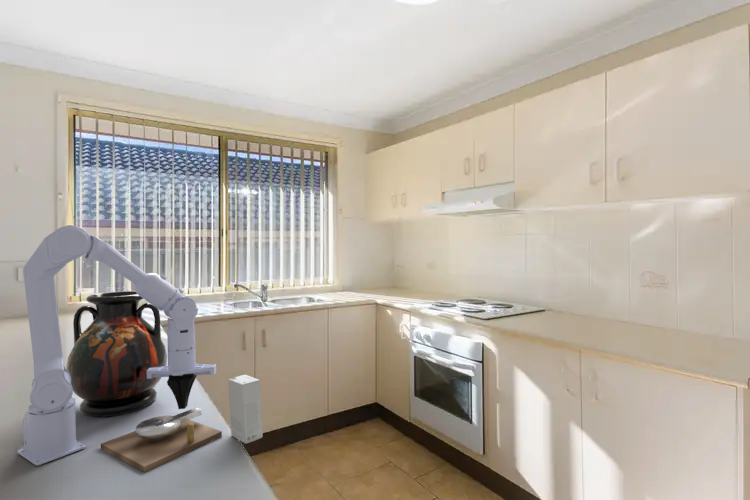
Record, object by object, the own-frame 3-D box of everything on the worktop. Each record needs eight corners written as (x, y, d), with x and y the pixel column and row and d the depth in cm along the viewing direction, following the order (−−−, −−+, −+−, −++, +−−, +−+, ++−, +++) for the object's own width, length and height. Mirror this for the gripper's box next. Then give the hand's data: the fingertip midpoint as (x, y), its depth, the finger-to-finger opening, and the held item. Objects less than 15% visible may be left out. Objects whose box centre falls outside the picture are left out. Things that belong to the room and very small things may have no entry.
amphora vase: (48, 429, 91) (45, 301, 91) (87, 394, 112) (85, 291, 112) (157, 417, 97) (154, 297, 96) (175, 386, 118) (173, 287, 117)
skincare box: (263, 437, 86) (262, 379, 86) (243, 445, 83) (242, 384, 83) (248, 428, 90) (247, 373, 90) (228, 435, 87) (227, 378, 87)
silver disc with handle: (150, 442, 79) (149, 433, 79) (128, 432, 83) (127, 423, 83) (210, 417, 90) (209, 409, 90) (187, 410, 94) (187, 402, 94)
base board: (100, 448, 82) (100, 426, 82) (176, 419, 96) (176, 399, 95) (144, 472, 73) (144, 446, 73) (221, 436, 87) (221, 414, 87)
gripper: (140, 354, 90) (141, 416, 90) (210, 351, 92) (211, 412, 92) (153, 346, 97) (154, 404, 97) (217, 343, 99) (219, 400, 99)
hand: (183, 407), depth 95 cm, fingers closed
